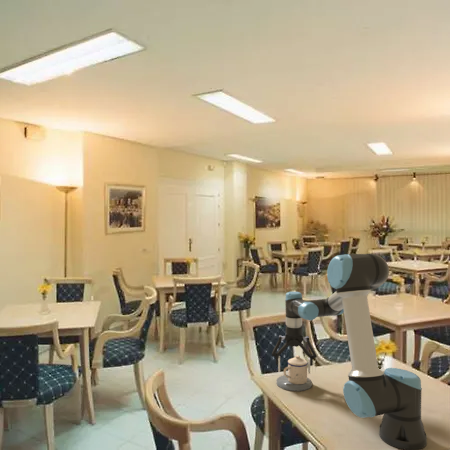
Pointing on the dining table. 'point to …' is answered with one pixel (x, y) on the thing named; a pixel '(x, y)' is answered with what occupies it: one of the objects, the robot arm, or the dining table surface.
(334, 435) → the dining table surface
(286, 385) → the pad
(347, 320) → the robot arm
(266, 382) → the dining table surface
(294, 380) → the teacup with lid
